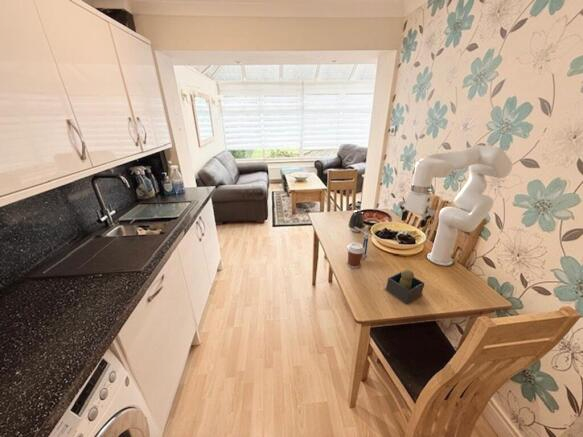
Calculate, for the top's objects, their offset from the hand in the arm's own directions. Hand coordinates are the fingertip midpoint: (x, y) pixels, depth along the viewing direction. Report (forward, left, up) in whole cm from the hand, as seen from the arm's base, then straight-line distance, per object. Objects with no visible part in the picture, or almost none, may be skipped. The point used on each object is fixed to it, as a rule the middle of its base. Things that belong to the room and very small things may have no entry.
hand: (412, 223), depth 114 cm
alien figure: (+7, -22, -28) cm, 37 cm away
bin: (+13, +10, -28) cm, 33 cm away
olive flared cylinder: (+13, +10, -28) cm, 32 cm away
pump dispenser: (-14, -48, -28) cm, 58 cm away
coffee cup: (+17, -18, -28) cm, 38 cm away
